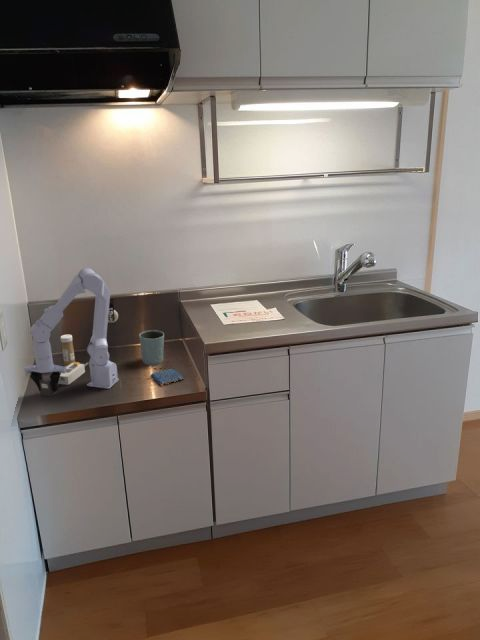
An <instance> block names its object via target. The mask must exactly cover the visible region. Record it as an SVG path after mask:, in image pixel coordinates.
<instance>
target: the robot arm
mask: <svg viewBox="0 0 480 640" xmlns="http://www.w3.org/2000/svg"><path fill="white" fill-rule="evenodd" d="M87 291H89V292H91V293H93V294H94V296H95V298H94V300H95V301H94V311H93V324H92V325H93V326H92V336H91V337H90V342H89V344H88V346H87V348H86V351H87V354H88V355H89V361H88V363H89V364H88V366H89V371H90V372H89V373H90V381H89V382H88V383H86V386H87V387H92V388H100V389H109V390H110V389H111V387H112V386H114V385H115V384H116V383H118V381H120V378H119V377H118V376H119V375H118V367H117V363H115V362H113V361H111V360H110V353H109V350H108V347H109V345H108V341H107V336H108V335H107V333H108V325H109V324H108V322H109V314H110V313H109V312H110V311H109V310H110V300H111V291H110V289H109V288H108V286H107V284H106V282H105V281H104V279H103V278H102V277H101V276H100V275H99V273H97V272H96V271H94V270H93V268H89V267H85V268H82V269H80V271H79V272H78V274H76V275H75V276H74V277H73V278H72V281H71V282H70V283H69V284H68V286H67V288H66V289H65V290H64V292H63V293H62V294H61V296H60V297H59V298H58V300H57V302H56V303H55V304H54V305H49V306H48V308H44V310H43V312H44V313H43V314H42V315H41V317H40V318H39V319H37V320H36V321H35V323H34V324H32V326H31V327H30V330H29V333H30V335H31V337H32V345H33V347H32V348H33V353H34V359H35V364H34V365H26V366H25V367H24V368H23V369H24V373H25V374H28V373H31V374H30V375H29V377H30V379H31V380H32V381H33V382H34V383H35V384H36V386H37V388H38V391H39V392H41V389H40V383H39V380H41V379H42V378H43V374H46V373H50V375H49V376H50V378H51V381H52V385H53V391H54V392H55V391H56V390H57V389H58V390H59V388H58V387H59V384H58V381H59V377H60V375H61V373H64V374H65V373H66V371H67V370H66V366H65V365H57V364H54V361H53V353H52V346H51V342H50V338H51V332H52V331H53V330H54V329H55V327H56V326H57V325H58V324H59V323H60V321H61V320H62V318H64V310H65V309H66V308H67V307H68V306H69V304H70V303H71V302H72V301H73V300H74V299H75V297H77V295H79V294H85V293H87Z"/></svg>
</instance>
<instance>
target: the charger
mask: <svg viewBox="0 0 480 640" xmlns="http://www.w3.org/2000/svg"><path fill="white" fill-rule="evenodd" d="M39 383H40V389H41V391H40V394H41V396H45V397H52V396H53V395H55V394H56V393H57V392H58V391H59V388H58V389H57V390H56V391H55V392H54V391H53V385H52V381H51V378H50V375H45V376H43V377H42V379H41V380H39Z"/></svg>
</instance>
